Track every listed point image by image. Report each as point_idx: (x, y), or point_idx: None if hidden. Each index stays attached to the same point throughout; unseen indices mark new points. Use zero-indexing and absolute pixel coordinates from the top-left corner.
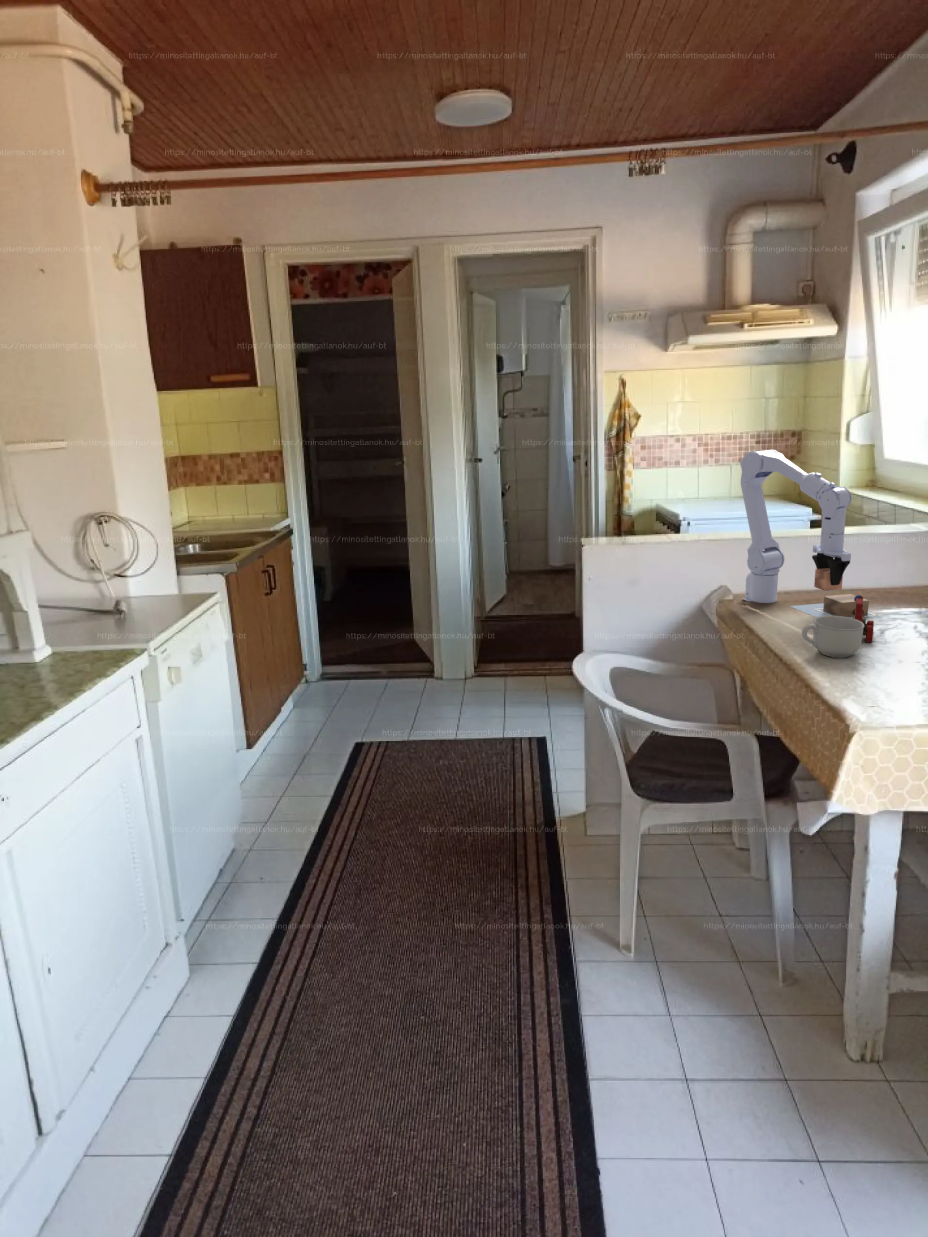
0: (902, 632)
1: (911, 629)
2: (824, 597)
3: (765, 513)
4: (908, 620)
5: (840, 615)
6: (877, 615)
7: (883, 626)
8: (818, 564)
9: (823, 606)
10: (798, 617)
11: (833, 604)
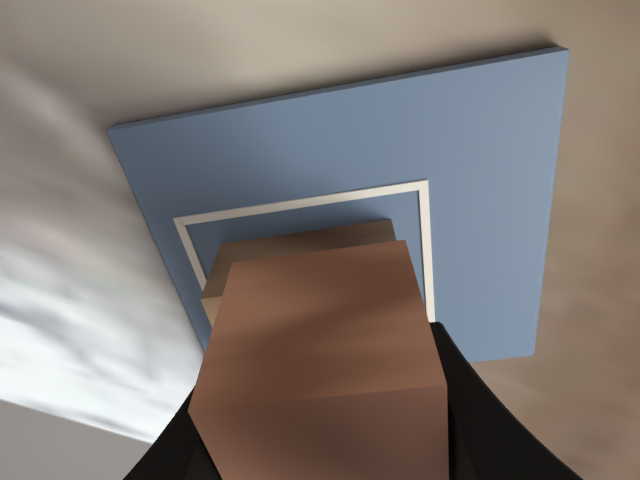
0: (21, 369)
1: (77, 407)
2: None
3: None
4: None
5: (221, 248)
6: None
7: (112, 348)
8: (472, 475)
9: (476, 252)
10: (310, 13)
11: None
